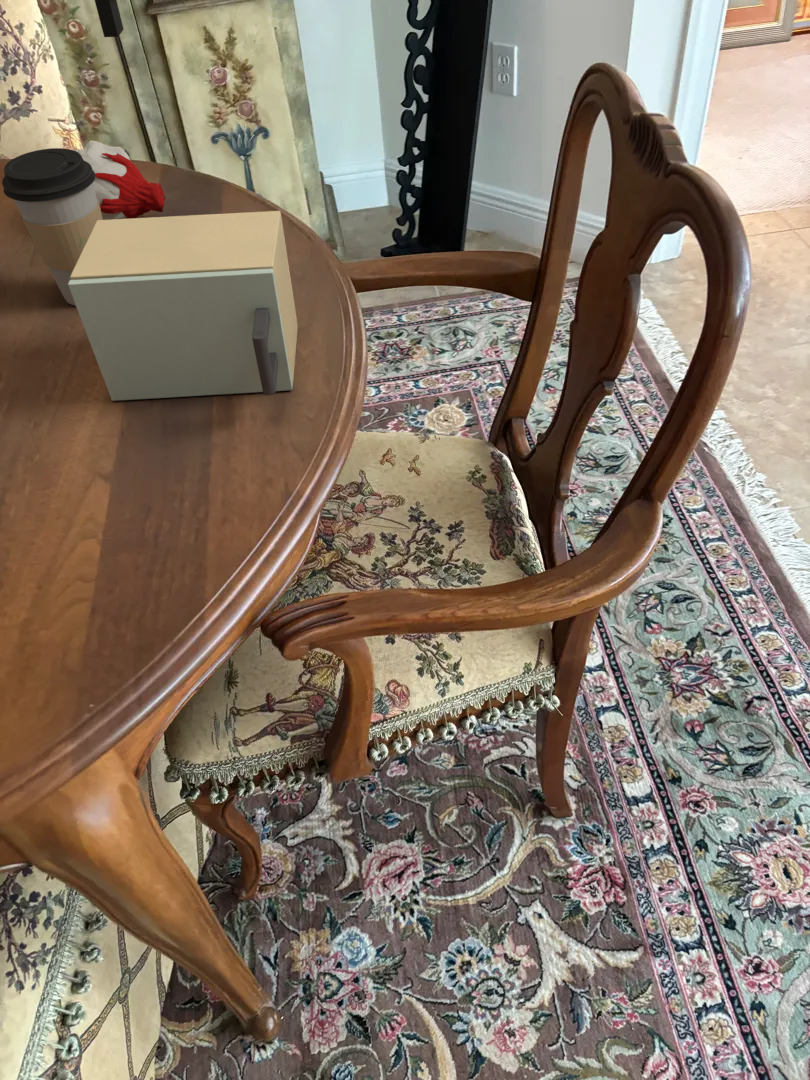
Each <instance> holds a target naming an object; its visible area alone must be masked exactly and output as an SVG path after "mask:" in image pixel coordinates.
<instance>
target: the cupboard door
mask: <svg viewBox="0 0 810 1080" xmlns="http://www.w3.org/2000/svg"><path fill="white" fill-rule="evenodd" d="M68 286H69V289H70V291H71V294H72V297H73V299H74V302H75V305H76V306H75V305H74V306H75V307H76V310H77V312H78V315H79V317H80V321H81V323H82V326H83V328H84V331H85V333H86V336H87V339H88V341H89V344H90V347H91V349H92V352H93V355H94V357H95V361H96V363H97V365H98V368H99V371H100V374H101V376H102V379H103V382H104V384H105V386H106V389H107V393H108V394H109V397H110V399H111V401H112V402H113V401H114V402H117V401H133V400H134V401H135V400H149V399H151V400H152V399H166V398H182V397H184V398H185V397H201V396H214V395H215V396H218V395H219V396H220V395H234V394H250V393H252V394H253V393H262V394H264V395H267V396H270V395H273V394H275V393H276V392H283V391H284V392H285V391H293V389H294V388H293V387H294V384H293V385H292V379H291V373H290V367H289V361H288V355H287V349H286V342H285V336H284V330H283V324H282V318H281V312H280V306H279V300H278V294H277V288H276V282H275V276H274V270H273V269H255V270H238V271H220V272H203V273H185V274H168V275H150V276H133V277H115V278H98V279H80V280H70V281H69V283H68Z"/></svg>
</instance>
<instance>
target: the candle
mask: <svg viewBox="0 0 810 1080" xmlns="http://www.w3.org/2000/svg"><path fill="white" fill-rule="evenodd" d="M73 150H74V151H76V152H78V153H79V154H80V155H81V156H82V158H83V160H84V161H86V162H88V163H89V164H90V165H91V166H92V170H93V171H94V172H95V175H96V177H95V180H94V182H93V184H94V189H95V193H96V198H97V199H98V201H99V205H100V209H101V214H102V219H103V220H113V219H132V218H139V217H141V216H143V215H145V214H147V213H149V212H150V211H153V212H157V213H164V207H165V201H166V195H165V192H164V189H163V187H162V185H161V183H157V182H149V181H148V180H146V178H145V177H144V176H143V174H142V173H141V171H140V169H139V167H137V166H136V164H135V163H133V161H132V160H131V158H130V156H129V155H128V153H127V152H126V151H125V150H124V149H123V147H121V146H112V145H108V144H105V143H102V142H100V141H96V140H88V142H87V143H86V144H85V145H84V148H83V149H79V150H78V149H73Z"/></svg>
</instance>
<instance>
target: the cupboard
mask: <svg viewBox="0 0 810 1080" xmlns="http://www.w3.org/2000/svg"><path fill="white" fill-rule="evenodd" d="M287 252H288V251H287V244H286V239H285V231H284V225H283V218H282V211H281V210H269V211H268V210H267V211H249V212H231V213H230V212H229V213H211V214H209V213H208V214H189V216H188V215H174V216H173V215H172V216H152V217H137V218H132V219H113V220H97V222H96V224H95V226H94V228H93V230H92V232H91V234H90V236H89V238H88V240H87V243H86V245H85V247H84V249H83V251H82V253H81V255H80V257H79V259H78V261H77V263H76V266H75V268H74V270H73V272H72V274H71V276H70V278H71V280H80V279H98V278H115V277H133V276H150V275H168V274H185V273H203V272H220V271H238V270H255V269H273V270H274V276H275V282H276V288H277V294H278V300H279V306H280V312H281V318H282V324H283V330H284V336H285V342H286V349H287V355H288V361H289V367H290V373H291V379H292V385H293V386H294V378H295V377H294V376H295V368H296V367H295V365H296V352H297V342H298V341H297V340H298V330H299V325H298V324H299V323H298V318H297V317H298V316H297V312H296V311H297V310H296V305H295V298H294V297H295V296H294V291H293V285H292V277H291V272H290V265H289V258H288V253H287Z"/></svg>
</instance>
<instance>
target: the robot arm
mask: <svg viewBox="0 0 810 1080" xmlns="http://www.w3.org/2000/svg"><path fill="white" fill-rule="evenodd" d="M94 3H95V8H96V11H97V15H98V19H99V23H100V26H101V30H102V34H103V37H104V38H118V37H120V35H121V34H122V32H123V31H124V25H123V21H122V17H121V14H120V9H119V4H118V1H117V0H94Z"/></svg>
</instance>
